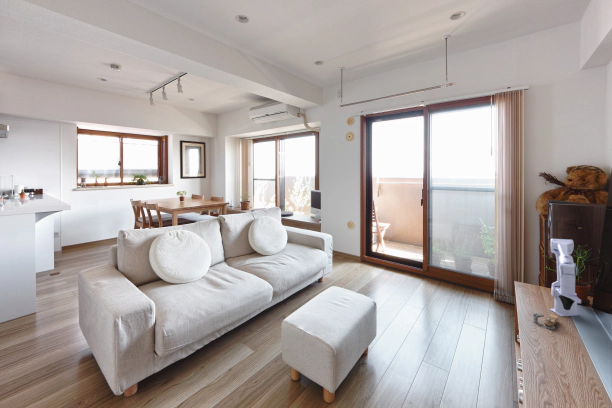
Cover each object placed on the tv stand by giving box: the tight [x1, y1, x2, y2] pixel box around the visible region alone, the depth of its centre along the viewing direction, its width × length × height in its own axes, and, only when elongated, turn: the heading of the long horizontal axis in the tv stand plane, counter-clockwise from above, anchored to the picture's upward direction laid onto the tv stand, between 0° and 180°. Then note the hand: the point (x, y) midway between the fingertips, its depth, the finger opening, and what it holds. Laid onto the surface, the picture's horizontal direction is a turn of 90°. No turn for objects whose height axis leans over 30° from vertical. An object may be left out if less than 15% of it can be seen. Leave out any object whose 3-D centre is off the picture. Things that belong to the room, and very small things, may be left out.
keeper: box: [532, 312, 545, 324], centre depth 151 cm, size 2×4×5 cm, turn 93°
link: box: [544, 314, 559, 327], centre depth 148 cm, size 11×4×4 cm, turn 123°
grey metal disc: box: [542, 322, 556, 331], centre depth 146 cm, size 5×5×1 cm
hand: (567, 309), depth 145 cm, fingers closed
